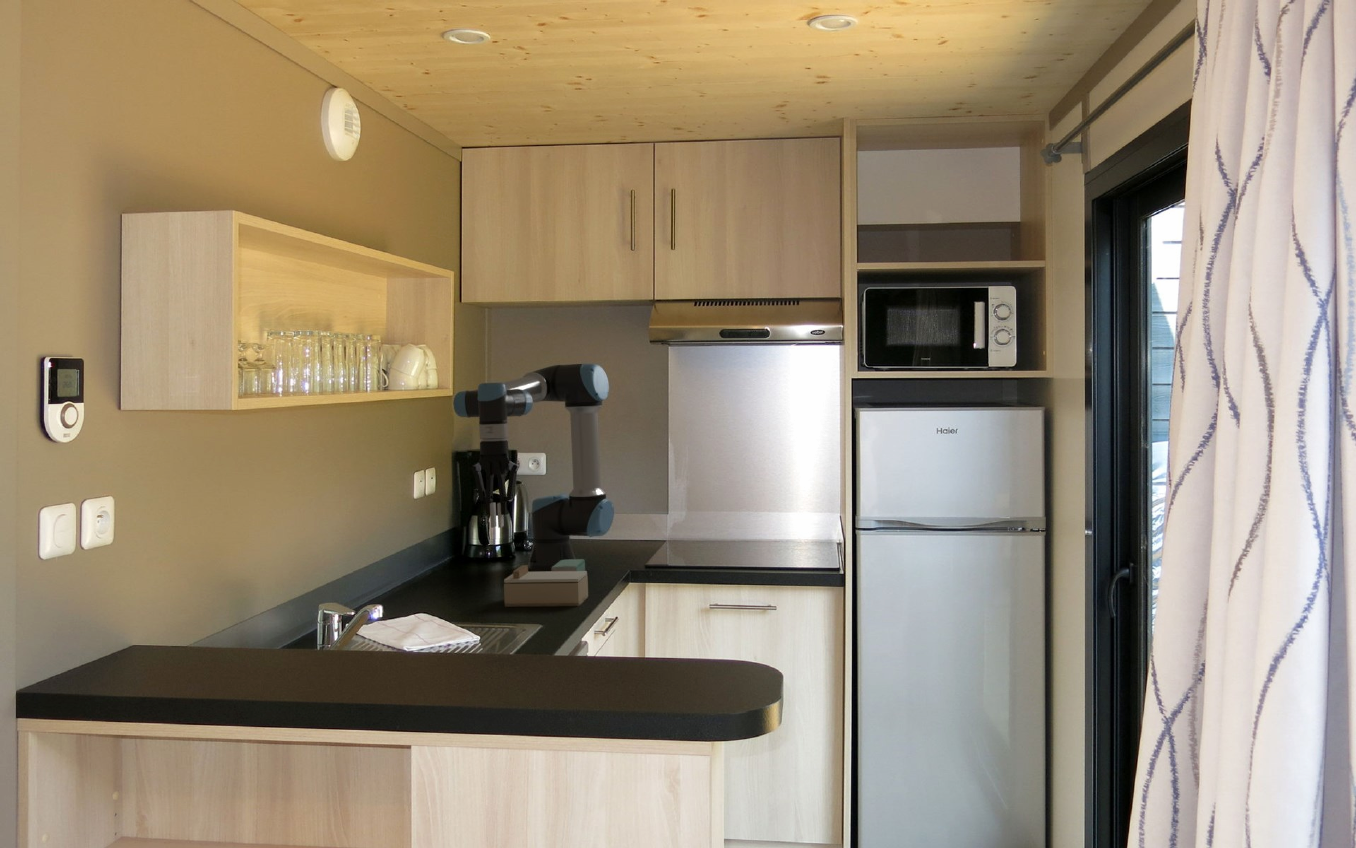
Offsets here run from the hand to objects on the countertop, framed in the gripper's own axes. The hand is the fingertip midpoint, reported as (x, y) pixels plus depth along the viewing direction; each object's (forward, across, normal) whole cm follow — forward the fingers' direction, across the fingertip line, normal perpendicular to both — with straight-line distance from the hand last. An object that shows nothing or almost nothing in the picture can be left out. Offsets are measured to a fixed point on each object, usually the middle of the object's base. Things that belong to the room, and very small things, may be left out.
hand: (497, 526), depth 275 cm
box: (+21, +15, +19) cm, 32 cm away
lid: (+14, +13, 0) cm, 19 cm away
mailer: (+20, +13, 0) cm, 24 cm away
